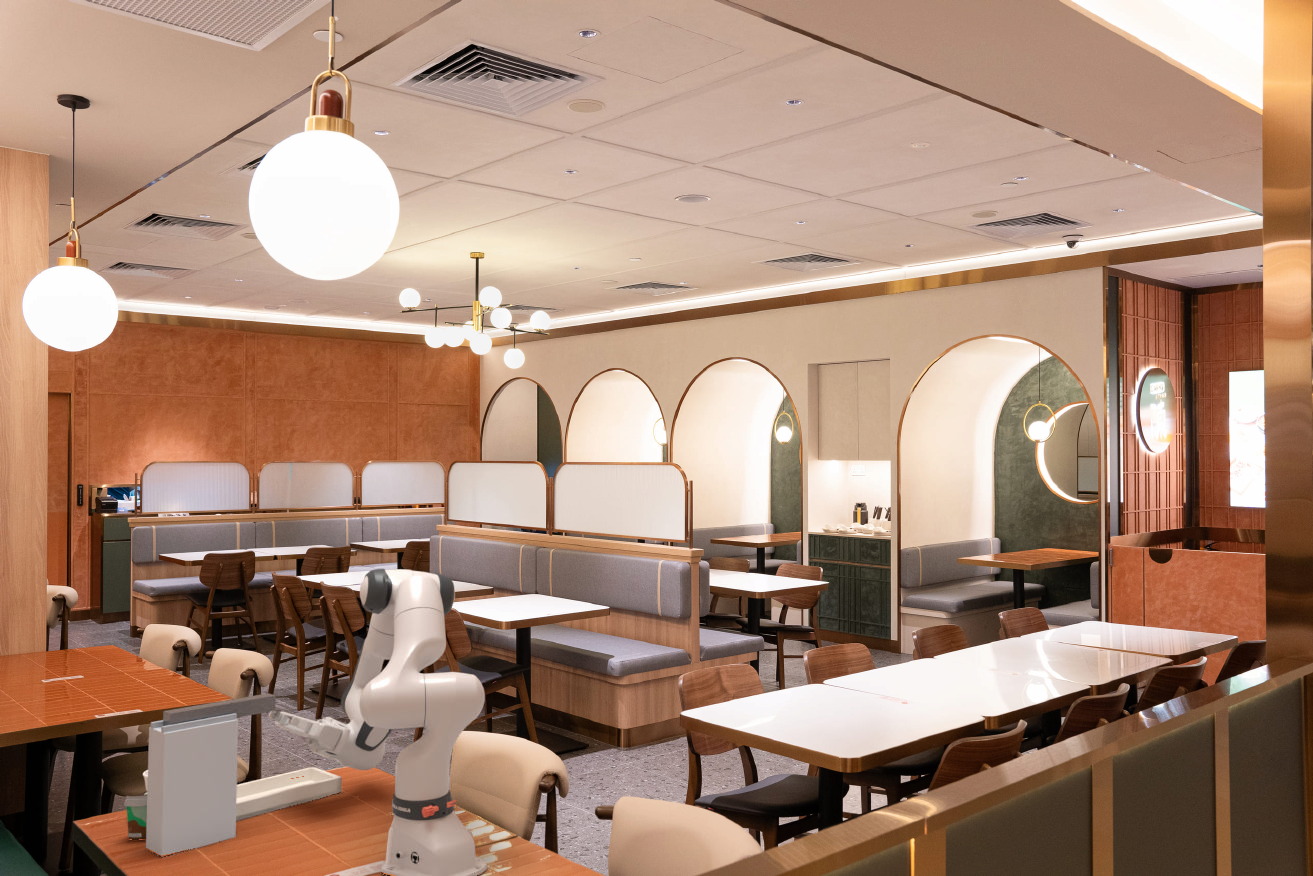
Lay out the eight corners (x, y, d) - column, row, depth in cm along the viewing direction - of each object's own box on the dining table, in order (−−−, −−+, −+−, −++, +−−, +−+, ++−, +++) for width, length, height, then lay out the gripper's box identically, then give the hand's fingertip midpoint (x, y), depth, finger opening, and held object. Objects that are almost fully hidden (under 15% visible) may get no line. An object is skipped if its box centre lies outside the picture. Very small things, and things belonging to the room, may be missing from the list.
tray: (341, 793, 249) (341, 777, 249) (221, 825, 225) (221, 807, 226) (312, 782, 258) (313, 766, 258) (194, 811, 234) (195, 794, 235)
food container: (144, 846, 212) (145, 799, 213) (122, 842, 214) (124, 796, 215) (188, 827, 224) (189, 783, 224) (167, 824, 226) (168, 780, 226)
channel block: (235, 837, 218) (238, 714, 219) (161, 857, 206) (164, 728, 207) (219, 828, 223) (221, 709, 224) (145, 848, 211) (149, 721, 212)
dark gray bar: (275, 710, 228) (275, 695, 228) (169, 730, 210) (170, 713, 210) (267, 708, 230) (268, 693, 230) (163, 727, 212) (163, 711, 212)
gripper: (310, 717, 247) (265, 697, 239) (354, 730, 234) (309, 710, 225) (298, 741, 245) (253, 722, 236) (342, 756, 231) (296, 736, 223)
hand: (280, 716), depth 231 cm, fingers open, 8 cm apart
